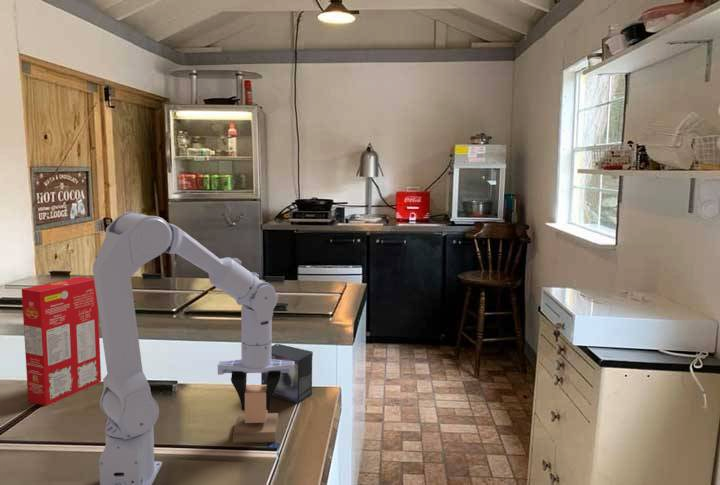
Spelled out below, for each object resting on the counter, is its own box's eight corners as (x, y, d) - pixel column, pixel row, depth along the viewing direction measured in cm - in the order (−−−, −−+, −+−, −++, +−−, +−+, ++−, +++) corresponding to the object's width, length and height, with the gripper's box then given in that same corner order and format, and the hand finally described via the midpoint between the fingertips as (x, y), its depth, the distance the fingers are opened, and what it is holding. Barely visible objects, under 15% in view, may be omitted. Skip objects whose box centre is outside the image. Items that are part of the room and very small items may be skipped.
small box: (259, 394, 123) (259, 350, 121) (276, 384, 129) (276, 342, 127) (297, 404, 118) (297, 359, 117) (313, 394, 124) (313, 350, 122)
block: (265, 422, 103) (265, 393, 102) (244, 422, 102) (244, 393, 102) (267, 413, 107) (267, 384, 106) (247, 413, 106) (247, 384, 106)
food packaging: (84, 377, 129) (79, 276, 126) (101, 381, 128) (97, 278, 124) (28, 401, 116) (21, 289, 112) (46, 405, 114) (39, 291, 111)
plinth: (275, 442, 102) (275, 432, 101) (232, 442, 101) (232, 432, 101) (278, 422, 109) (278, 413, 109) (238, 422, 109) (238, 413, 108)
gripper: (295, 334, 107) (294, 398, 109) (221, 334, 106) (222, 399, 108) (293, 346, 100) (293, 414, 102) (215, 346, 99) (216, 415, 101)
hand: (256, 407), depth 104 cm, fingers closed on block, 4 cm apart
